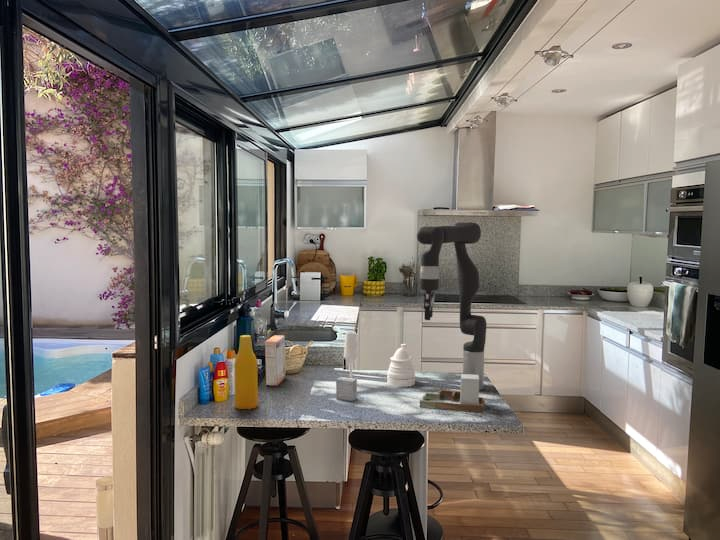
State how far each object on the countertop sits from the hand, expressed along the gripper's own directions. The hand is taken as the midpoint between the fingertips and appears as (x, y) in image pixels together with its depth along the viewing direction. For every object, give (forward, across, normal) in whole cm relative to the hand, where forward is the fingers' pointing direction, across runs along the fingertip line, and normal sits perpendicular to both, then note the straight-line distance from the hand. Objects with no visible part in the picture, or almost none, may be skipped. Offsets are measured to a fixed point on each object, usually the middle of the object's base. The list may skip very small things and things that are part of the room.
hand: (428, 318), depth 219 cm
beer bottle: (+38, -11, +72) cm, 82 cm away
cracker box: (+37, +25, +74) cm, 86 cm away
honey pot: (+36, +36, +16) cm, 54 cm away
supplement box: (+37, +9, -16) cm, 41 cm away
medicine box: (+37, +8, +35) cm, 52 cm away
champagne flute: (+37, +30, +38) cm, 61 cm away
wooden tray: (+37, +12, -10) cm, 40 cm away
